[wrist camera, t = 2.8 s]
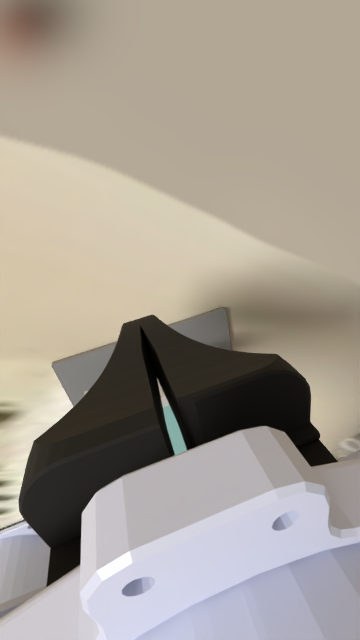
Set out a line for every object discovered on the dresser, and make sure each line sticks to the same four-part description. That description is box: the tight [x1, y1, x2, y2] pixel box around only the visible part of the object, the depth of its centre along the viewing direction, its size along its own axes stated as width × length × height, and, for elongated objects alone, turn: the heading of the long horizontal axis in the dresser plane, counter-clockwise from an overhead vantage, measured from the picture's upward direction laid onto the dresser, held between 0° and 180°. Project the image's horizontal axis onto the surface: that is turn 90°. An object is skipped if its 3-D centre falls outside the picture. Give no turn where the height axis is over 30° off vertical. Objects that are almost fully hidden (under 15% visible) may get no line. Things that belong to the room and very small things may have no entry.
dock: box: [52, 307, 232, 406], centre depth 24 cm, size 12×22×2 cm, turn 12°
